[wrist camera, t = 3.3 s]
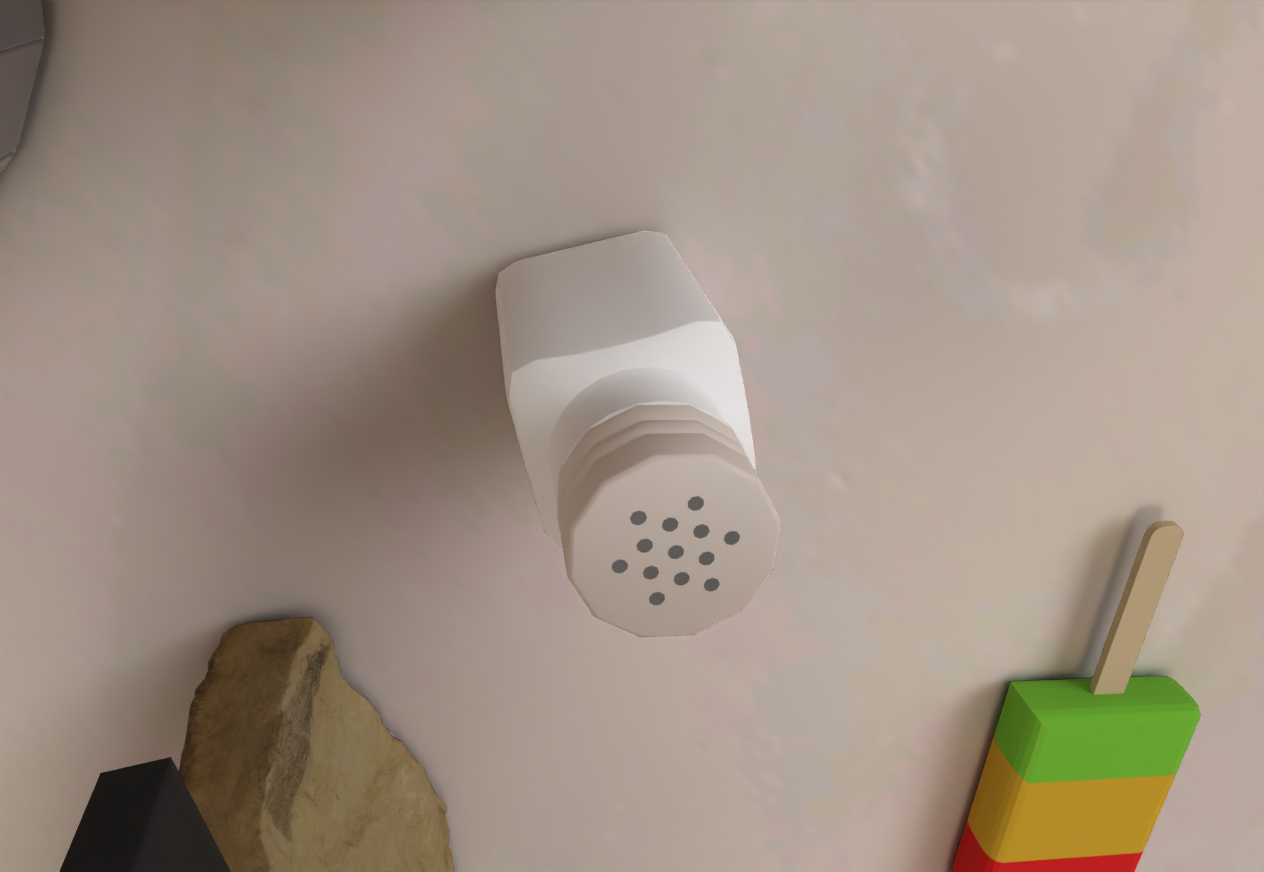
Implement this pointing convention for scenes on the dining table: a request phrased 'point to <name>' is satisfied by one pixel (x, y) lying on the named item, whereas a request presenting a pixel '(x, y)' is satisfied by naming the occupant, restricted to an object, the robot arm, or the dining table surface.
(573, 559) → the pepper shaker
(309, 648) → the rock
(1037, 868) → the popsicle
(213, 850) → the robot arm
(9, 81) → the bowl
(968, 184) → the dining table surface
